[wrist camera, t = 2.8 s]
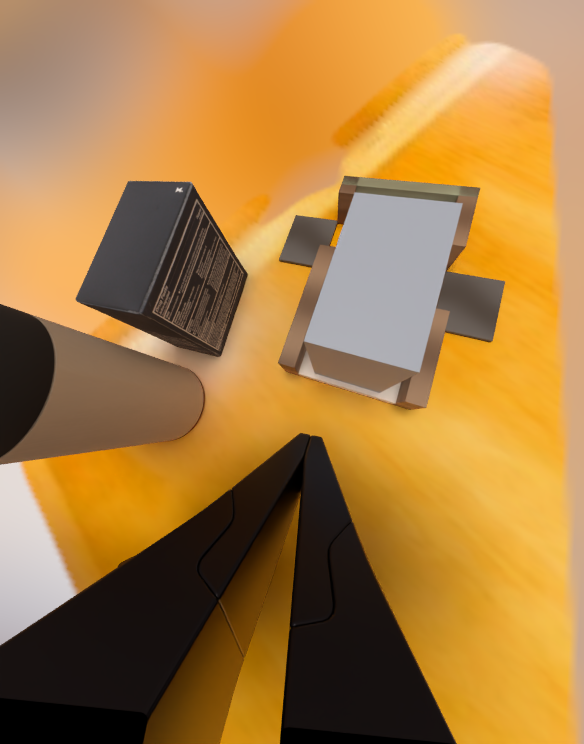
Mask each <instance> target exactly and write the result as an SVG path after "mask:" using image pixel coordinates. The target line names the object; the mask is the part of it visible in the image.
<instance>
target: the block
mask: <svg viewBox="0 0 584 744" xmlns="http://www.w3.org/2000/svg"><path fill="white" fill-rule="evenodd" d="M462 204H463V203H454V202H444V201H434V200H425V199H415V198H405V197H396V196H386V195H376V194H366V193H357V192H355V193H354V196H353V199H352V202H351V205H350V208H349V211H348V214H347V217H346V219H345V222H344V225H343V228H342V231H341V234H340V237H339V240H338V243H337V246H336V249H335V251H334V254H333V257H332V260H331V263H330V266H329V269H328V272H327V275H326V278H325V281H324V284H323V286H322V289H321V292H320V295H319V298H318V301H317V304H316V307H315V310H314V313H313V316H312V319H311V321H310V324H309V327H308V330H307V333H306V336H305V339H304V344H305V346H306V349H307V352H308V355H309V358H310V361H311V364H312V367H313V370H314V373H315V374H318V375H321V376H325V377H328V378H331V379H335V380H338V381H341V382H345V383H348V384H351V385H355V386H358V387H361V388H365V389H368V390H371V391H374V392H378V393H380V392H382V391H384V390H386V389H388V388H390V387H392V386H394V385H396V384H398V383H400V382H402V381H404V380H406V379H408V378H410V377H412V376H414V375H416V374H418V373H420V369H421V365H422V361H423V357H424V353H425V349H426V345H427V341H428V337H429V334H430V330H431V326H432V322H433V318H434V314H435V310H436V306H437V302H438V298H439V294H440V290H441V287H442V283H443V279H444V275H445V271H446V267H447V263H448V259H449V255H450V251H451V247H452V244H453V240H454V236H455V232H456V228H457V224H458V220H459V216H460V212H461V208H462Z"/></svg>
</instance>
